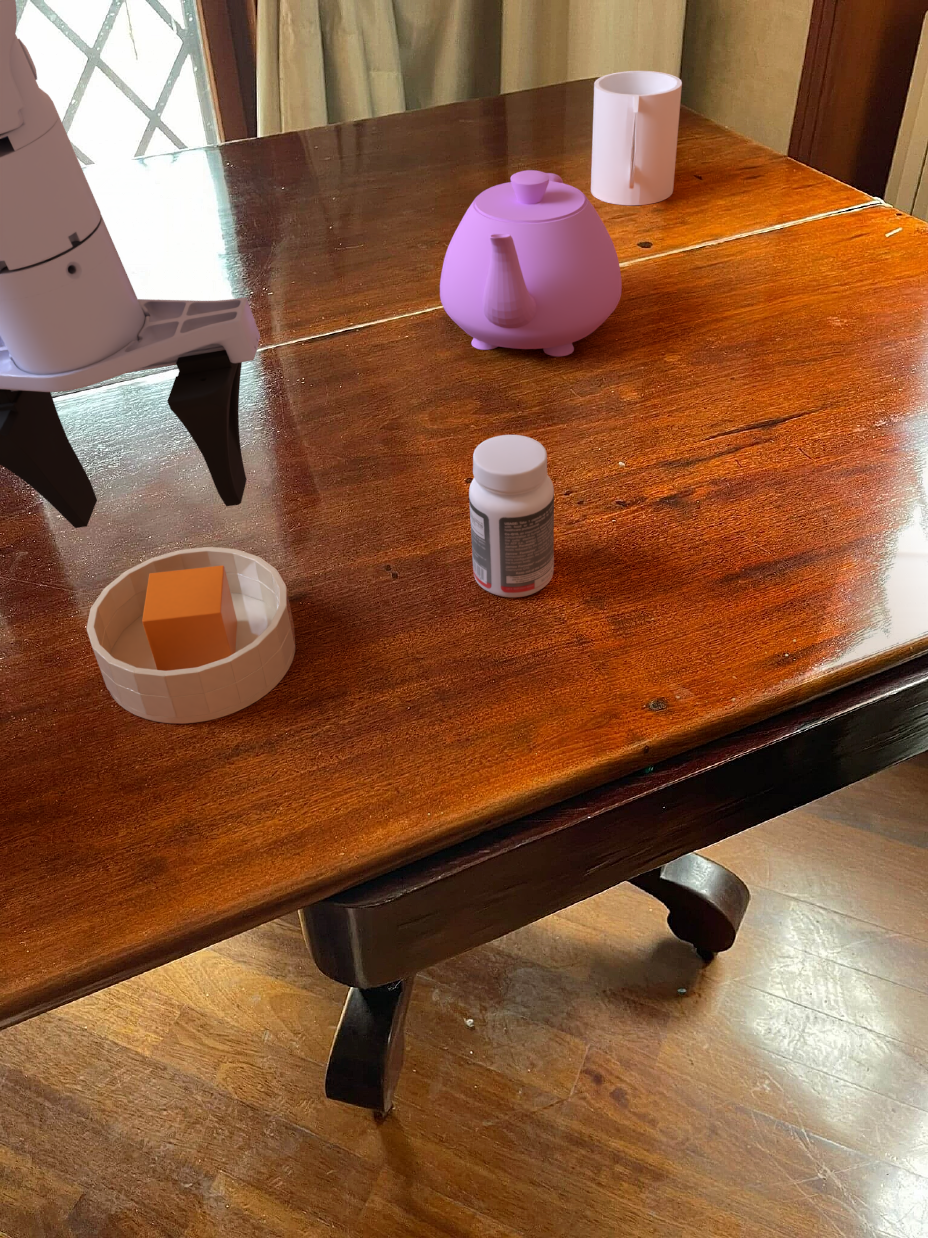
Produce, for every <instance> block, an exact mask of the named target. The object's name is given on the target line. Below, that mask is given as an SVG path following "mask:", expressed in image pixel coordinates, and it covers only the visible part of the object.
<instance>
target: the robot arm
mask: <svg viewBox="0 0 928 1238" xmlns="http://www.w3.org/2000/svg"><path fill="white" fill-rule="evenodd" d="M17 14H18V12H17V3H16V0H0V466H2V467H3V468H5V469H7V470H8V471H10V472H11V473H13V474H14V475H15V476H17V477H18V478H19V479H21V480H22V481H23V482H25V483H26V484H27V485H28V486H30V487H31V488H32V489H33V490H35V491H36V492H37V493H38V494H39V495H40V496H41V497H43V499H45V500H46V501H47V502H48V503H49V504H50V505H51V506H52V507H53V508H54V509H55V510H56V511H57V512H58V513H59V514H60V515H61V516H62V517H63V518H64V519H65V520H66V521H67V522H68V523H69V524H70V525H71V526H72V527H74V528H75V529H78V528H80V529H81V528H86V527H88V524H89V522H90V519H91V517H92V514H93V512H94V509H95V507H96V504H97V503H98V498H97V495H96V493H95V490H94V487H93V485H92V482H91V479H90V478H89V476H88V474H87V472H86V470H85V469H84V467H83V464H82V462H81V460H80V459H79V457H78V455H77V454H76V451H75V449H74V448H73V446H72V444H71V442H70V440H69V438H68V436H67V434H66V431H65V429H64V426H63V424H62V421H61V419H60V416H59V413H58V410H57V408H56V405H55V402H54V399H53V396H52V393H62V392H69V391H74V390H80V389H83V388H86V387H87V388H88V387H91V386H94V385H96V384H99V383H102V382H104V381H105V382H106V381H108V380H110V379H114V378H117V377H119V376H122V375H125V374H130V373H136V372H142V371H148V370H154V369H160V368H166V367H173V366H176V368H177V369H178V374H177V376H175V378H174V381H173V384H172V386H171V389H170V392H169V395H168V398H167V405H168V407H169V409H170V410H171V412H172V413H173V414H174V415H175V416H176V417H177V419H178V420H179V421H180V423H182V425H183V426H184V428H185V429H186V431H187V432H188V433H189V435H190V436H191V439H192V440H193V441H194V444H196V447H197V449H198V450H199V452H200V453H201V456H202V457H203V459H204V462H205V464H206V466H207V469H208V472H209V474H210V476H211V480H212V481H213V484H214V487H215V489H216V492H217V494H218V495H219V497H220V499H221V501H222V502H223V503H224V505H225V507H232V506H239V505H241V503H242V502H243V498H244V497H243V496H244V493H245V489H246V485H247V480H248V479H247V476H246V470H245V466H244V461H243V455H242V448H241V437H240V421H239V419H240V417H239V415H240V414H239V413H240V412H239V407H240V405H239V403H240V387H241V385H240V384H241V373H242V365H243V363H247V362H252V361H254V360H255V357H256V354H257V352H258V347H259V345H260V344H259V343H260V339H261V334H260V331H259V328H258V325H257V323H256V320H255V318H254V315H253V314H254V313H253V311H252V309H251V306H250V302H249V300H248V298H247V297H246V296H245V297H244V296H243V297H238V298H231V299H219V300H193V299H191V300H189V299H180V300H179V299H151V298H150V299H148V298H147V299H146V298H145V299H144V298H142V299H141V298H138V296H137V294H136V292H135V289H134V287H133V285H132V283H131V280H130V277H129V275H128V273H127V271H126V269H125V266H124V264H123V262H122V260H121V257H120V255H119V253H118V250H117V248H116V245H115V243H114V240H113V239H112V236H111V233H110V232H109V229H108V227H107V225H106V221H105V220H104V217H103V215H102V213H101V210H100V207H99V205H98V203H97V201H96V198H95V196H94V193H93V190H92V189H91V187H90V185H89V182H88V180H87V178H86V175H85V173H84V170H83V168H82V166H81V164H80V161H79V159H78V157H77V154H76V152H75V149H74V147H73V145H72V142H71V139H70V138H69V135H68V134H67V130H66V129H65V126H64V123H63V122H62V119H61V117H60V114H59V112H58V111H57V108H56V106H55V103H54V101H53V100H52V98H51V96H50V95H49V94H48V93H47V92H46V91H44V90H43V89H42V88H40V87H39V84H38V82H37V80H38V75H37V69H36V65H35V63H34V61H33V59H32V56H31V54H30V52H29V50H28V48H27V46H26V45H25V44H24V42H23V41H22V40H21V39H20V38H18V35H17V34H16V33H17V21H18V15H17Z"/></svg>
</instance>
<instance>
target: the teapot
mask: <svg viewBox="0 0 928 1238" xmlns="http://www.w3.org/2000/svg"><path fill="white" fill-rule="evenodd" d="M509 179H510V181H509V182H504V183H500V184H496V185H494V186H491V187H489V188H487V189H485V190H483V191H482V192H480V193H479V194H478V195H477V196H475V198H474V199H473V201H472V202H471V203H470V205H469V207H468V208H467V210H466V211H465V213H464V215H463V216H462V218H461V221H459V224H458V226H457V228H456V229H455V231H454V233H453V236H452V237H451V239H450V242H449V244H448V246H447V249H446V252H445V255H444V258H443V263H442V269H441V273H440V279H439V280H440V281H439V300H440V302H441V305H442V307H443V310H444V312H445V313H446V314H447V316H449V318H450V319H451V320H452V321H453V322H454V324H456V325H457V326H458V327H459V328H460V329H461V330H462V331H464V332H465V333H466V334H467V335H468V336H470V337H471V338H472V340H471V342H470V345H471V346H472V347H474V348H475V349H477V350H482V351H487V350H493V349H496V348H498V347H500V348H507V349H517V350H539V349H542V351H543V352H544V353H545V354H546V355H548V356H551V357H565V356H569V355H570V354H572V353H573V352H574V351H575V347H574V345H573V343H575V342H577V341H578V342H579V341H580V340H582V339H585V338H586V337H588V336H590V335H591V334H592V333H594V332H595V331H596V330H597V329H598V328H599V327H600V326H602V325H603V324H604V323H605V322H606V321H607V320H608V318H609V317H610V316H611V314H613V313H614V311H616V308H617V306H618V305H619V303H620V299H621V297H622V274H621V267H620V262H619V256H618V254H617V251H616V248H615V245H614V242H613V239H612V237H611V235H610V233H609V231H608V229H607V227H606V225H605V224H604V221H603V220H602V218H601V216H600V215H599V213H598V212H597V210H596V208H595V206H594V205H593V204H592V202H591V201H590V200H589V198H588V197H587V196H586V194H585V193H584V192H582V191H581V190H580V189H579V188H577V187H574V186H572V185H569V184H568V183H564V181H563V179H562V177H561V176H560V175H558V174H556V173H552V172H544V171H541V170H536V169H534V170H533V169H527V170H521V171H518V172H516V173H513V174H512V175H511V176H510V178H509Z"/></svg>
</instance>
